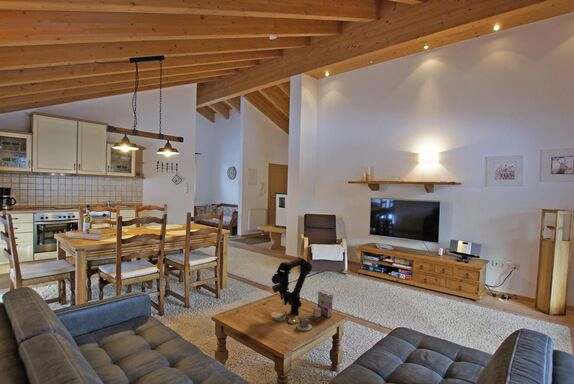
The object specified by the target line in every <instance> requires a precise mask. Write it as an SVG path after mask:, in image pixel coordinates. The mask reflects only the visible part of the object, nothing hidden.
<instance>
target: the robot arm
mask: <svg viewBox="0 0 574 384" xmlns="http://www.w3.org/2000/svg"><path fill="white" fill-rule="evenodd" d="M296 267H299V276H298V277H297V280H296V283H295V286H294V288H293V290H292V291H290V290H289V289H290V288H289V285H290V282H289V277H290V274H292V273H291V271H292V269H294V268H296ZM312 269H313V266H312V264H311V263H309V262H308V261H307V260H306V259H305V258H302V257H298V258H297V259H293V260H291V261H287V262H286V261H284V262H280V264H279V266H278V268H277V270H276V272H275V273H273V275H272V277H271V282H272V283H273V285H272V286H271V288H272V290H273V291H272V292H273V293H277V292H279V296H280V300H281V301H282V300H283V303H284V306H286V305H288V306H289V305H290V312H289V315H291V316H299V315H300V311H299V308H301V307H302V305H303V304H302V301H301V300H300V299H301V295H300V294H301V291H302V289H303V285H304V283H305V280H306V277H307V275H309V274H311V271H312Z"/></svg>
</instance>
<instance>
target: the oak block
mask: <svg viewBox="0 0 574 384" xmlns="http://www.w3.org/2000/svg"><path fill="white" fill-rule="evenodd" d="M313 313H314V314H315V315H321V309H320V307H318V306H314V307H313ZM313 313H312V314H313ZM321 316H322V315H321Z"/></svg>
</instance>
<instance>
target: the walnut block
mask: <svg viewBox="0 0 574 384" xmlns="http://www.w3.org/2000/svg"><path fill="white" fill-rule="evenodd" d="M299 317H300V319H299V322H298V323H299V325H300V326H301V328H309V324H310V320H309V318H308V317H302V316H299Z"/></svg>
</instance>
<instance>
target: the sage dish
mask: <svg viewBox="0 0 574 384" xmlns="http://www.w3.org/2000/svg"><path fill="white" fill-rule="evenodd" d="M299 323H300V322H298V323H296V328H297V330H299V331H304V332H306V331H310V330H311V329H312V324H311V323H309V328H301V326H300V325H299Z"/></svg>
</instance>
